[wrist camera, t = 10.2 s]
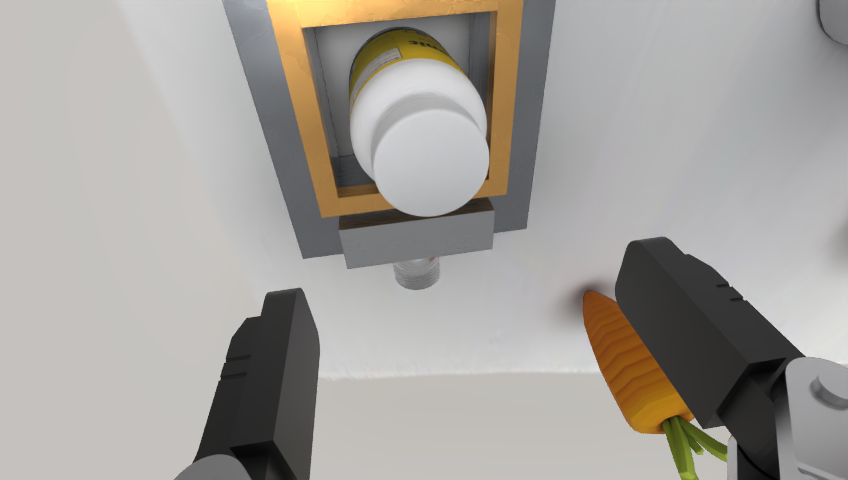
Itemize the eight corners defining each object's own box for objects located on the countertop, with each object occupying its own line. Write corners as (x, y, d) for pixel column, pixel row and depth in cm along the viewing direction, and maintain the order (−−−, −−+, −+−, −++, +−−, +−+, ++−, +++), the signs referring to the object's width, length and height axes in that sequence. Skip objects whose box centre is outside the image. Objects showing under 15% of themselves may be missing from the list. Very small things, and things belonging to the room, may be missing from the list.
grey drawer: (529, -43, 19) (577, -33, 15) (503, 244, 29) (528, 294, 25) (238, -20, 18) (208, -3, 14) (321, 269, 28) (317, 325, 24)
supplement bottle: (472, 86, 22) (538, 174, 14) (395, 149, 24) (419, 258, 16) (408, -3, 19) (449, 48, 11) (326, 75, 21) (313, 166, 13)
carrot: (595, 260, 32) (740, 458, 20) (627, 285, 34) (773, 475, 23) (547, 299, 34) (653, 499, 22) (580, 320, 36) (692, 510, 25)
